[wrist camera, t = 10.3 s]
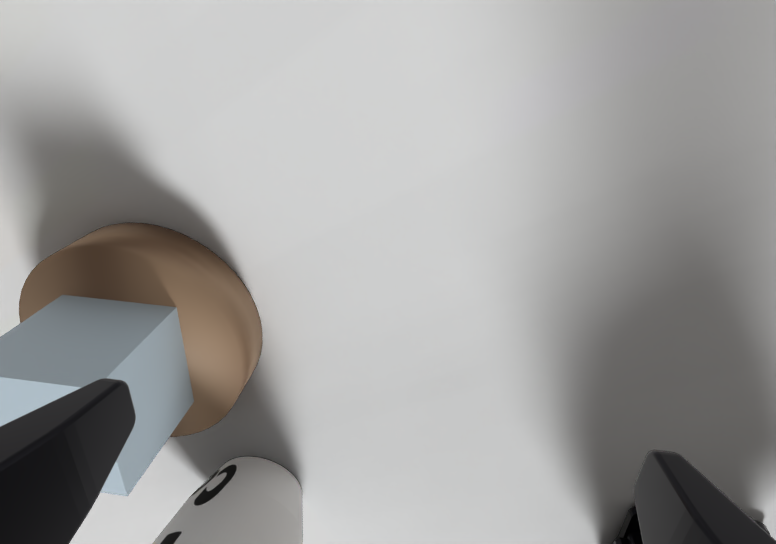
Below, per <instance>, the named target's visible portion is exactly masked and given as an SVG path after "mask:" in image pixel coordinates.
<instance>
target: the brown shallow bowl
mask: <svg viewBox="0 0 776 544" xmlns="http://www.w3.org/2000/svg"><path fill="white" fill-rule="evenodd" d="M61 295H70V296H79V297H88V298H97V299H106V300H115V301H124V302H134V303H143V304H152V305H161V306H170V307H177V312H178V317H179V323H180V328H181V333H182V339H183V344H184V350H185V355H186V360H187V366H188V371H189V376H190V382H191V387H192V393H193V398H194V402H193V404H192V405H191V407H190V408H189V410H188V411H187V412H186V414H185V415H184V417H183V418H182V420H181V421H180V422H179V424H178V425H177V427H176V428H175V430H174V431H173V432H172V434H171V435H170V437H177V436H185V435H190V434H194V433H198V432H201V431H203V430H205V429H208V428H210V427H211V426H213V425H215V424H216V423H218V422H219V421H220V420H221V419H222V418H224V417H225V416H226V415H227V413H228V412H229V411H230V410H231V408H232V407H233V405H234V403H235V402H236V400H237V398H238V397H239V395H240V393H241V392H242V390H243V388H244V387H245V385H246V383H247V381H248V380H249V378H250V376H251V375H252V373H253V371H254V369H255V368H256V366H257V364H258V361H259V358H260V355H261V349H262V328H261V322H260V318H259V315H258V311H257V308H256V306H255V304H254V302H253V299H252V297H251V295H250V294H249V292H248V290H247V289H246V287H245V286H244V284H243V283H242V281H241V280H240V279H239V277H238V276H237V275H236V274H235V272H234V271H233V270H232V269H231V268H230V267H229V266H228V265H227V264H226V263H225V262H224V261H223V260H222V259H220V258H219V257H218V256H217V255H216V254H214V253H213V252H212V251H210V250H209V249H208V248H206V247H205V246H203V245H202V244H200V243H199V242H197V241H195V240H193V239H191V238H189V237H187V236H185V235H183V234H181V233H178V232H176V231H173V230H171V229H167V228H163V227H160V226H156V225H150V224H144V223H121V224H113V225H110V226H106V227H102V228H100V229H98V230H95V231H93V232H91V233H89V234H88V235H86V236H84V237H82V238H81V239H79V240H77V241H75V242H74V243H72V244H70V245H68V246H67V247H65V248H63V249H61V250H59V251H58V252H56V253H54V254H52V255H51V256H49V257H48V258H46V259H45V260H43V261H42V262H40V263H39V264H38V265H37V266H36V267H35V268H34V269H33V270H32V271H31V273H30V274H29V276H28V278H27V279H26V281H25V283H24V286H23V288H22V291H21V296H20V301H19V316H20V323H22V322H23V321H25V320H26V319H28V318H29V317H30V316H32V315H33V314H35V313H36V312H38V311H39V310H41V309H42V308H44V307H45V306H47V305H48V304H49V303H51V302H52V301H54V300H55V299H57V298H58V297H60V296H61Z"/></svg>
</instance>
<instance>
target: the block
mask: <svg viewBox="0 0 776 544" xmlns="http://www.w3.org/2000/svg"><path fill="white" fill-rule="evenodd" d="M102 378H109V379H116V380H123V381H125V382H126V383H127V384H128V386H129V390H130V394H131V398H132V401H133V405H134V409H135V414H136V420H135V425H134V428H133V430H132V432H131V434H130V436H129V438H128V439H127V441H126V443H125V445H124V447H123V449H122V451H121V453H120V455H119V457H118V459H117V461H116V463H115V464H114V466H113V468H112V470H111V472H110V474H109V476H108V478H107V480H106V482H105V484H104V486H103V488H102V490H101V491H100V492H102V493H108V494H115V495H122V496H128V495H129V494H130V492H131V491H132V489H133V488H134V486H135V485H136V484H137V482H138V481H139V479H140V478H141V476H142V475H143V474H144V472H145V471H146V469H147V468H148V467H149V465H150V464H151V462H152V461H153V459H154V458H155V457H156V455H157V454H158V452H159V451H160V449H161V448H162V447H163V445H164V444H165V442H166V441H167V439H168V438H169V437H170V435H171V434H172V432H173V431H174V430H175V428H176V427H177V425H178V424H179V422H180V421H181V420H182V418H183V417H184V415H185V414H186V412H187V411H188V410H189V408H190V407H191V405H192V404H193V402H194V398H193V393H192V387H191V382H190V376H189V371H188V366H187V360H186V355H185V350H184V344H183V339H182V333H181V328H180V323H179V317H178V312H177V307H170V306H161V305H152V304H143V303H134V302H124V301H115V300H106V299H97V298H88V297H79V296H70V295H61V296H60V297H58V298H57V299H55V300H54V301H52V302H51V303H49V304H48V305H47V306H45V307H44V308H42V309H41V310H39V311H38V312H36V313H35V314H33V315H32V316H30V317H29V318H28V319H26V320H25V321H23V322H22V323H20V324H19V325H17V326H16V327H14V328H13V329H11V330H10V331H9V332H7V333H6V334H4V335H3V336H1V337H0V426H2V425H4V424H6V423H9V422H11V421H13V420H15V419H17V418H19V417H21V416H23V415H25V414H27V413H29V412H32V411H34V410H36V409H38V408H40V407H42V406H44V405H46V404H48V403H50V402H52V401H55V400H57V399H59V398H61V397H63V396H65V395H67V394H69V393H71V392H73V391H75V390H78V389H80V388H82V387H84V386H86V385H88V384H90V383H92V382H94V381H96V380H99V379H102Z"/></svg>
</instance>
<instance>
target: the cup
mask: <svg viewBox="0 0 776 544" xmlns="http://www.w3.org/2000/svg"><path fill="white" fill-rule="evenodd" d="M152 544H303V508H302V489H301V486H300V484H299V482H298V481H297V479H296V478H295V477H294V476H293V475H292V474H291V473H290V472H289V471H288V470H287V469H285V468H284V467H282V466H281V465H279V464H277V463H275V462H272V461H270V460H267V459H263V458H259V457H238V458H235V459H232V460H230V461H228V462H226V463H225V464H224V465H223V466H222V467H221V468H220V469H218V470H217V471H216V472H215V473H214V474H213V475H212V476H211V477H210V478H209V479H208V480H207V481H206V482H205V483H204V484H203V485H202V486H201V487H200V488H199V489H197V490H196V491H195V492H194V493H193V494H192V495H191V496H190V497H189V498H188V500H187V501H186V502H185V503H184V505H183V506H182V507H181V508H180V510H179V511H178V512H177V513H176V515H175V516H174V517H173V518H172V520H171V521H170V522H169V523H168V525H167V526H166V527H165V528H164V530H163V531H162V532H161V533H160V535H159V536H158V537H157V538H156V540H155V541H154V542H153V543H152Z"/></svg>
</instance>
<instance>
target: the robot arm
mask: <svg viewBox="0 0 776 544" xmlns="http://www.w3.org/2000/svg"><path fill="white" fill-rule="evenodd" d="M135 420H136V414H135V409H134V405H133V401H132V398H131V394H130V390H129V386H128V384H127V383H126V382H125V381H123V380H116V379H109V378H102V379H99V380H96V381H94V382H92V383H90V384H88V385H86V386H84V387H82V388H80V389H78V390H75V391H73V392H71V393H69V394H67V395H65V396H63V397H61V398H59V399H57V400H55V401H52V402H50V403H48V404H46V405H44V406H42V407H40V408H38V409H36V410H34V411H32V412H29V413H27V414H25V415H23V416H21V417H19V418H17V419H15V420H13V421H11V422H9V423H6V424H4V425H2V426H0V544H69V543H70V541H71V540H72V538H73V536H74V535H75V533H76V532H77V530H78V529H79V527H80V526H81V524H82V522H83V521H84V519H85V518H86V516H87V514H88V513H89V511H90V509H91V508H92V506H93V504H94V502H95V501H96V499H97V497H98V495H99V493H100V491H101V490H102V488H103V486H104V484H105V482H106V480H107V478H108V476H109V474H110V472H111V470H112V468H113V466H114V464H115V463H116V461H117V459H118V457H119V455H120V453H121V451H122V449H123V447H124V445H125V443H126V441H127V439H128V438H129V436H130V434H131V432H132V430H133V428H134V425H135ZM634 499H635V505H636V506H634V507H632V508H631V509H630V510H629V512H628V514H627V517H626V519H625V522H624V524H623V526H622V529H621V531H620V533H619V536H618V537H617V538H616V540H615V541H614V543H613V544H776V540H775V539H773V538H772V537H771V536H770V533H769V531H768V530H767V528H766V526H765V525H764V524H763V523H760V522H755V521H753V520H752V519H751V518H750V517H749V516H748V515H747V514H746V513H745V512H743V511H742V510H741V509H740V508H739V507H738V506H737V505H736V504H734V503H733V502H732V501H731V500H730V499H729V498H728V497H727V496H726V495H724V494H723V493H722V492H721V491H720V490H719V489H718V488H717V487H716V486H714V485H713V484H712V483H711V482H710V481H709V480H708V479H707V478H706V477H704V476H703V475H702V474H701V473H700V472H699V471H698V470H697V469H696V468H694V467H693V466H692V465H691V464H690V463H689V462H688V461H687V460H686V459H684V458H683V457H682V456H681V455H679V454H677V453H674V452H667V451H660V450H651V451H650V452H649V453H648V454H647V455H646V458H645V460H644V462H643V465H642V467H641V470H640V472H639V475H638V477H637V479H636V482H635V486H634Z"/></svg>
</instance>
